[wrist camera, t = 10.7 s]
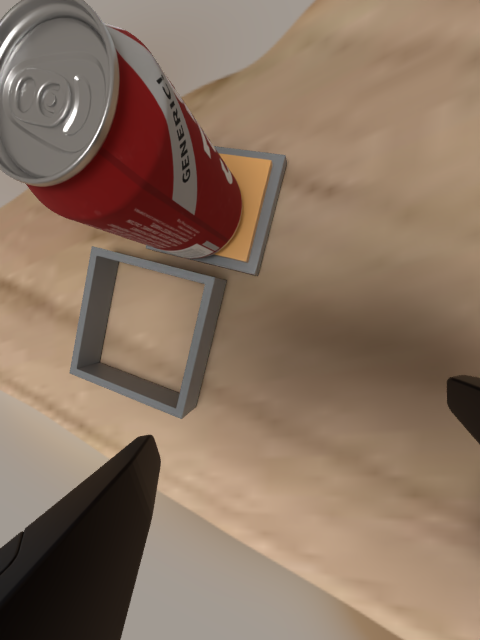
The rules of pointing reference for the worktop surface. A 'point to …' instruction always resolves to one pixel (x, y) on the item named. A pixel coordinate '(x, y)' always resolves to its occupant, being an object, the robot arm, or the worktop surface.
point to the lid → (249, 208)
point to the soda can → (108, 133)
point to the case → (95, 326)
